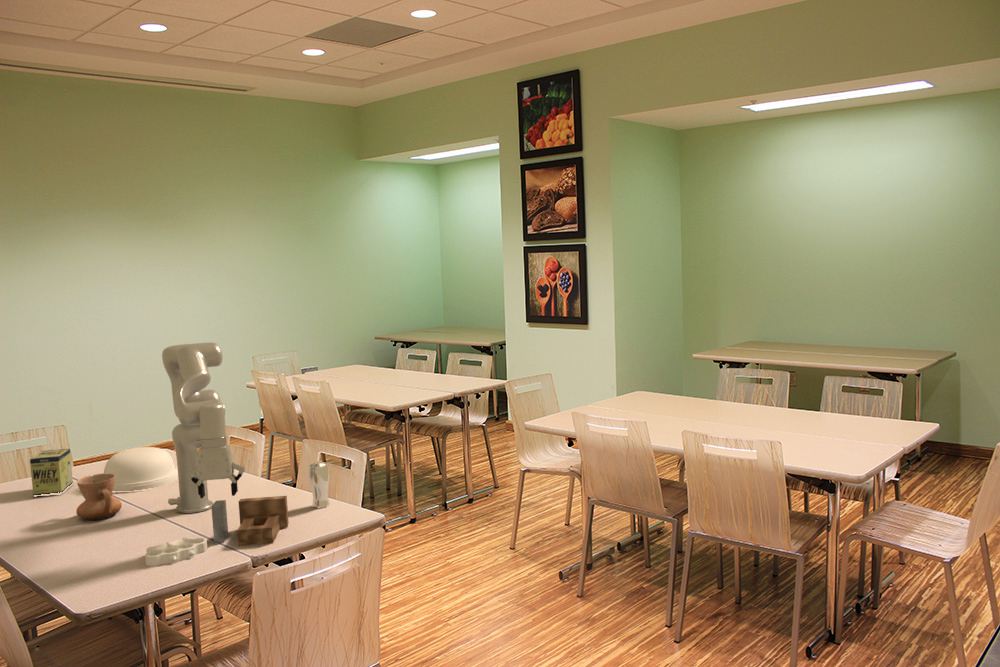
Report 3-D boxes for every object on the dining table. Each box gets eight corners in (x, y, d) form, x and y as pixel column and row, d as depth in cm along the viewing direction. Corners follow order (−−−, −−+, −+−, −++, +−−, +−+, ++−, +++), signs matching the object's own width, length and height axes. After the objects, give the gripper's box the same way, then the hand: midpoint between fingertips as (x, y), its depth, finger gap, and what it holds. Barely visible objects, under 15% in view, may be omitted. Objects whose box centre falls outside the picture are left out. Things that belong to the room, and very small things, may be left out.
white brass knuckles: (194, 542, 250) (214, 553, 240) (135, 559, 238) (154, 571, 227) (193, 532, 250) (213, 543, 240) (135, 548, 238) (153, 560, 227)
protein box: (33, 498, 308) (29, 459, 306) (45, 487, 323) (42, 450, 321) (62, 495, 310) (58, 456, 309) (73, 484, 325) (70, 448, 324)
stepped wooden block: (230, 546, 244) (228, 515, 244) (242, 528, 261) (240, 498, 260) (280, 542, 246) (278, 511, 245) (288, 524, 263) (286, 495, 262)
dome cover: (167, 468, 346) (164, 437, 345) (193, 481, 324) (190, 447, 323) (88, 484, 325) (85, 451, 324) (110, 499, 303) (107, 463, 302)
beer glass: (334, 503, 285) (332, 462, 283) (324, 509, 278) (321, 467, 277) (317, 502, 287) (315, 461, 286) (307, 508, 280) (304, 466, 279)
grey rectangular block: (214, 543, 248) (211, 506, 247) (218, 536, 254) (216, 500, 253) (224, 542, 248) (221, 505, 247) (228, 536, 254) (225, 500, 253)
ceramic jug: (70, 516, 282) (66, 478, 280) (112, 506, 292) (109, 468, 290) (87, 528, 269) (83, 488, 267) (131, 517, 279) (127, 478, 278)
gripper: (182, 447, 243) (186, 501, 244) (239, 443, 245) (243, 496, 246) (189, 442, 251) (193, 495, 252) (244, 438, 252) (248, 490, 254)
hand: (218, 495), depth 249 cm, fingers open, 9 cm apart
